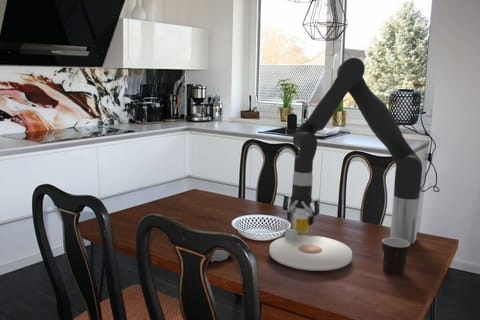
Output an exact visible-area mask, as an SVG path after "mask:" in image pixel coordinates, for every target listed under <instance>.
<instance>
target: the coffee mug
mask: <svg viewBox="0 0 480 320" xmlns="http://www.w3.org/2000/svg"><path fill="white" fill-rule="evenodd" d="M381 247H382V248H381V250H382V269H383V270H382V271H383V272H384V273H385V274H386V275H389V276H397V277H398V276H402V275H404V274H405V268H406V264H407V262H408V261H407V260H408V255H409V251H410V247H411V243H409V242H408V241H406V240H404V239H400V238H390V237H385V238H382V240H381Z"/></svg>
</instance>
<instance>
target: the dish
mask: <svg viewBox="0 0 480 320" xmlns="http://www.w3.org/2000/svg"><path fill="white" fill-rule="evenodd" d="M228 256H229V253H228V252H226V251H224V250H216V251H215V252H214V254H213V256H212V259H211V262H210V263H215V262H214V261H218V262H221V261H222V260H223V261H226V260H228V259H229V258H228ZM227 258H228V259H227ZM225 259H226V260H225Z"/></svg>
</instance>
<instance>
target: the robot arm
mask: <svg viewBox="0 0 480 320" xmlns="http://www.w3.org/2000/svg"><path fill="white" fill-rule="evenodd" d="M336 71H337V73H336V75H337V76H336V78H335V80H334V82H333V83H332V85H331V86H330V87H329V89H328V90H327V92H326V93H325V94H324V96H323V97H322V98H321V99H320V101H319V102H318V104H317V105H316V106H315V108H314V109H313V110H312V112H311V114H310V115H309V117H308V118H307V119H306V120H305V121H304V122H303V123H302V124H301V125H300V126H299V127H298V128H297V129H296V130H295V132H294V134H293V137H292V142H293V143H292V144H293V145H294V146H295V147H296V148H298V149H299V151H298V152H299V153H298V155H297V156H295V158H294V161H293V162H294V163H293V164H294V165H293V174H292V186H291V195H289V194H288V193H287V194H285V195H283V202H282V210H283V211H286V220H287V221H288V222H293V210H294V209H295V208H302V209H306V211H307V214H308V215H309V227H310V226H312V225H314V223H315V217H316V216H318V215H320V199H319V198H317V199H313V198H312V195H313V194H312V193H313V181H314V179H313V167H314V166H313V165H314V159H315V156H316V153H317V149H318V139H317V136H316V135H315V134H316V133H318V132H320V131H322V130H324V129H325V127H327V125H328V123H329V122H330V120H331V119H332V117H333V116H334V114H335V112H336V111H337V110H338V108H339V106H340V104H341V103H342V102H343V99H344V98H345V97H346V96H347V94H349V95H350V96H351V97H352V99H353V101H354V103H355V104H356V106H357V108H358V110H359V111H360V113H361V115H362V117H363V118H364V120H365V122H366V124H367V125H368V126H369V128H370V129H371V131H372V132H373V134H374V135H375V136H376V138H377V139H378V140H379V141H380V142H381V143H382V144H383V146H385V148H386V149H387V151H388V152H389V154H390V155H391V157H392V160H393V162H394V163H395V164H394V165H395V173H394V185H393V198H392V211H391V212H392V213H391V221H390V222H391V223H390V232H389V233H390V234H389V235H390V236H389V238H400V239H404V240H406V241H408V242H409V243H410V244H415V242H416V240H417V234H418V233H417V232H418V224H419V222H418V221H419V215H418V214H419V205H420V204H419V203H420V195H421V184H422V178H423V177H422V175H423V174H422V173H423V163H422V161H421V159H420V157H419V156H418V155H417V154H416V152H415V151H414V149H412V148H411V146H410V145H409V143H408V142H407V140H406V138H405V137H404V136H403V133H402V131H401V129H400V127H399V125H398V123H397V122H396V120H395V118H394V116H393V114H392V113H391V111H390V109H389V108H388V107H387V105H386V104H385V103H384V101H382V99H380V98H379V97H378V96H377V95H376V94H375V93H374V92H373V91H372V90H371V89H370V88H369V86H368V85H367V83H366V80H365V79H364V75H365V71H366V69H365V63H364V61H362V60H361V59H360V58H358V57H349V58H346V59H345V60H344V61H342V63H341V64H340V65H339V66H338V68H337V70H336ZM290 200H291V202H292V204H291V205H290V206H289V203H290V202H289V201H290ZM311 204H313V207H314V208H313V207H312V205H311ZM313 209H314V210H313Z"/></svg>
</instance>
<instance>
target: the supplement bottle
mask: <svg viewBox="0 0 480 320" xmlns="http://www.w3.org/2000/svg"><path fill="white" fill-rule="evenodd" d="M294 209H295V212H294V213H292V224H291V225H292V226H291V227H292V229H293V230H295V231H297V235H309V230H310V229H309V228H310V225H309V216H310V215H309V213H308V212H307V211H306V209H302V208H296V207H294Z"/></svg>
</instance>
